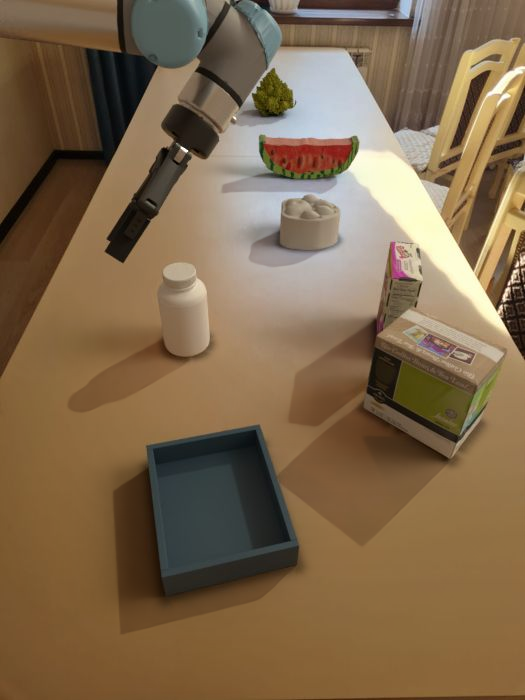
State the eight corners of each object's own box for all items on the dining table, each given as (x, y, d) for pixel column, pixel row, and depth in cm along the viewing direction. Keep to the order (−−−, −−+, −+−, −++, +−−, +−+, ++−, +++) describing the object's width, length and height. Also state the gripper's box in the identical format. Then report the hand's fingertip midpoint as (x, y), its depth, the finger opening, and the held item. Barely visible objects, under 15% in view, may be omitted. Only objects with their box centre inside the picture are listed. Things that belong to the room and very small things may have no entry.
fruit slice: (258, 179, 146) (259, 142, 139) (258, 169, 150) (258, 133, 144) (355, 180, 146) (360, 142, 140) (352, 170, 151) (356, 134, 144)
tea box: (480, 421, 82) (511, 348, 72) (449, 462, 76) (478, 387, 66) (394, 375, 89) (412, 302, 79) (360, 408, 83) (374, 334, 74)
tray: (150, 465, 75) (145, 445, 72) (259, 444, 78) (259, 424, 75) (165, 596, 61) (161, 577, 58) (297, 564, 64) (299, 545, 61)
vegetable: (272, 89, 194) (281, 56, 180) (296, 122, 192) (306, 92, 178) (237, 103, 190) (244, 71, 176) (261, 138, 188) (270, 108, 173)
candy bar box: (374, 317, 101) (389, 239, 90) (402, 320, 100) (420, 242, 89) (374, 357, 92) (391, 276, 81) (404, 361, 92) (425, 280, 81)
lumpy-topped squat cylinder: (280, 225, 126) (282, 190, 121) (336, 228, 126) (340, 193, 120) (279, 248, 119) (280, 212, 113) (338, 251, 118) (342, 215, 112)
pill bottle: (157, 354, 92) (145, 280, 82) (174, 325, 98) (165, 253, 88) (201, 362, 91) (195, 288, 81) (216, 332, 97) (211, 260, 87)
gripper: (240, 131, 63) (141, 281, 65) (207, 141, 86) (134, 252, 88) (186, 87, 60) (84, 246, 63) (167, 110, 83) (93, 226, 86)
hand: (113, 250), depth 75 cm, fingers open, 13 cm apart
